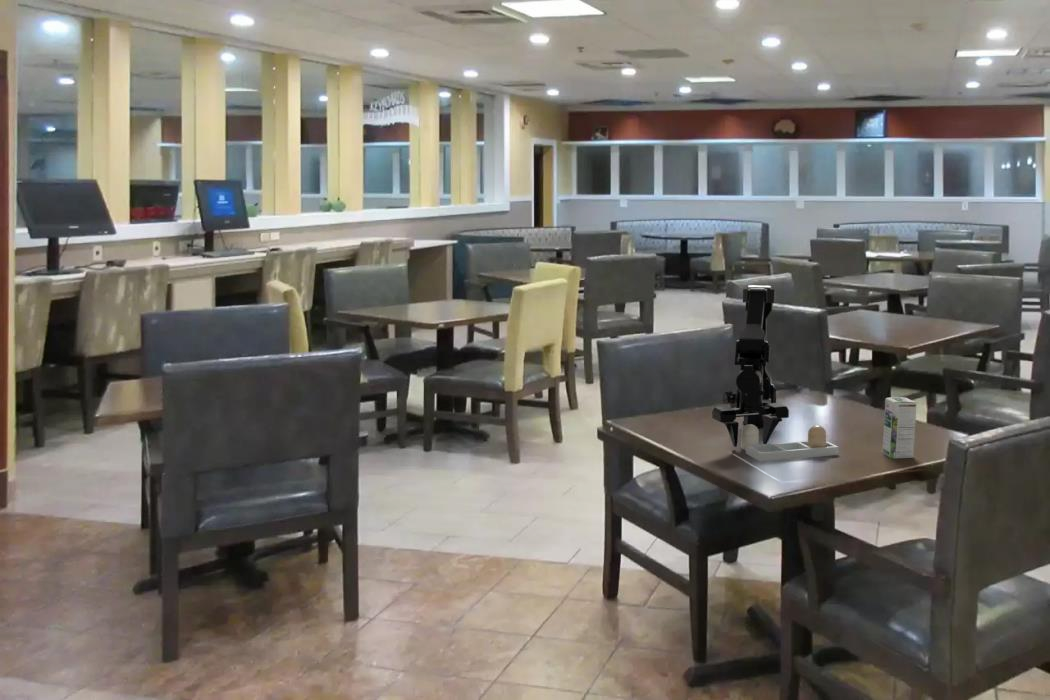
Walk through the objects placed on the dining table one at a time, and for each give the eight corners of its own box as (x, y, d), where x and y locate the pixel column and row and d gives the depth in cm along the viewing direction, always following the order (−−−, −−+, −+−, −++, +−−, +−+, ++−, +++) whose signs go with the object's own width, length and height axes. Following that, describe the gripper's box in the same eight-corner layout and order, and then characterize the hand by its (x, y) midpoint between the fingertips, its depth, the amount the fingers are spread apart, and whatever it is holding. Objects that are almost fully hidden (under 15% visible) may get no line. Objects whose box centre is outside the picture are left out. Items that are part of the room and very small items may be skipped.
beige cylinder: (820, 449, 262) (820, 422, 261) (829, 453, 258) (829, 426, 257) (804, 450, 261) (805, 424, 260) (813, 454, 257) (813, 428, 256)
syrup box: (881, 454, 259) (883, 397, 256) (904, 453, 259) (907, 396, 257) (891, 460, 253) (893, 402, 251) (914, 459, 254) (917, 401, 251)
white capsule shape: (753, 447, 267) (754, 421, 266) (761, 451, 263) (762, 425, 262) (737, 448, 266) (738, 423, 265) (745, 453, 262) (746, 426, 261)
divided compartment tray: (822, 448, 264) (822, 439, 264) (838, 456, 257) (838, 446, 257) (745, 455, 260) (746, 445, 259) (759, 463, 252) (759, 453, 252)
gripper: (770, 377, 271) (768, 435, 274) (703, 381, 267) (702, 440, 270) (790, 385, 261) (789, 445, 263) (721, 390, 256) (720, 451, 259)
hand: (749, 445), depth 264 cm, fingers open, 8 cm apart
